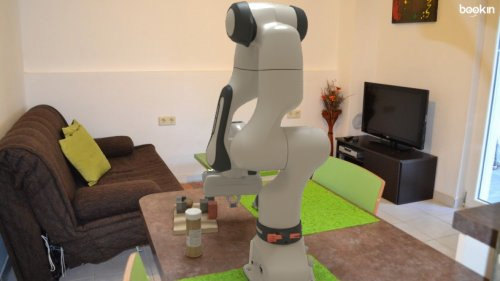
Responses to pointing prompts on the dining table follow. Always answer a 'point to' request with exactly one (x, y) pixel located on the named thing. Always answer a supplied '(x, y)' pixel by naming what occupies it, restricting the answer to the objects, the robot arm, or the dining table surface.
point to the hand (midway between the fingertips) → (233, 207)
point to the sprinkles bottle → (193, 232)
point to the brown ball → (189, 202)
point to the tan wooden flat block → (180, 219)
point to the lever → (209, 206)
